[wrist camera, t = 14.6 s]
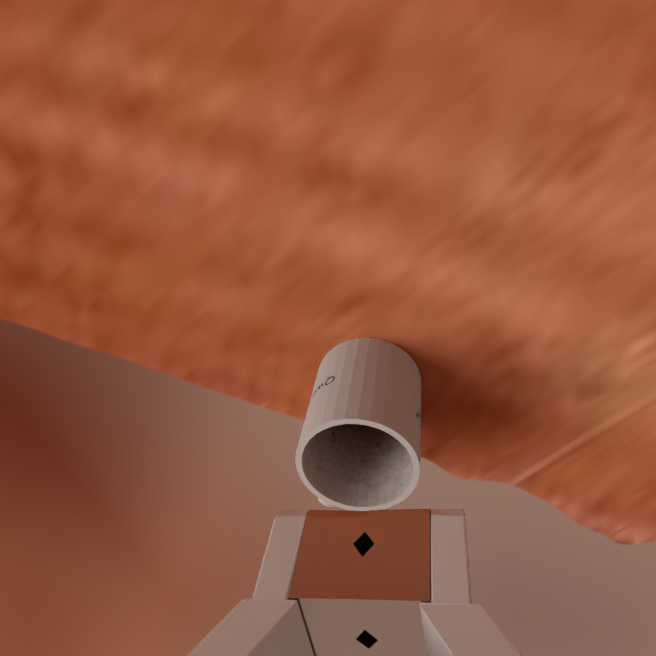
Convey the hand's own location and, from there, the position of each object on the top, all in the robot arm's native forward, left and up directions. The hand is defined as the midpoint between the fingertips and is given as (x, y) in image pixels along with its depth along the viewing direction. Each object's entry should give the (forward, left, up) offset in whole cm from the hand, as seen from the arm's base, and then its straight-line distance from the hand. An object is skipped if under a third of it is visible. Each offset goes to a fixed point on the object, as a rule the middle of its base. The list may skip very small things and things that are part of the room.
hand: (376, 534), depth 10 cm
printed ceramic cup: (+7, +22, -33) cm, 41 cm away
